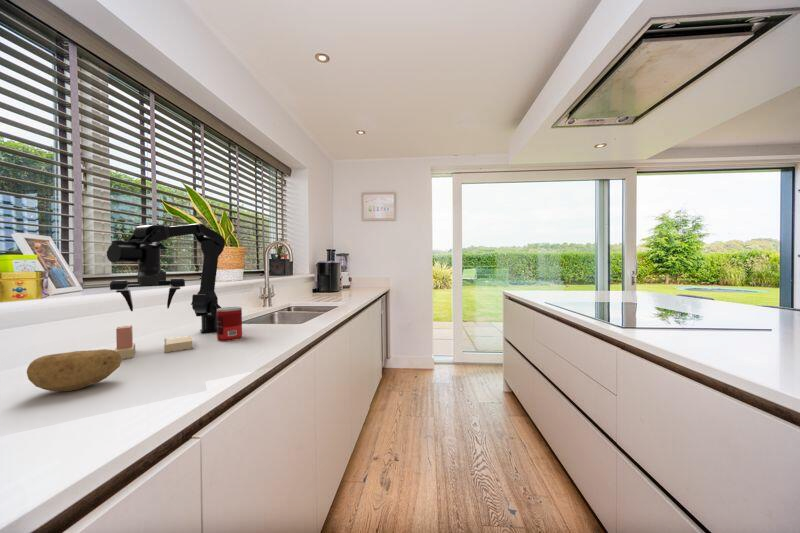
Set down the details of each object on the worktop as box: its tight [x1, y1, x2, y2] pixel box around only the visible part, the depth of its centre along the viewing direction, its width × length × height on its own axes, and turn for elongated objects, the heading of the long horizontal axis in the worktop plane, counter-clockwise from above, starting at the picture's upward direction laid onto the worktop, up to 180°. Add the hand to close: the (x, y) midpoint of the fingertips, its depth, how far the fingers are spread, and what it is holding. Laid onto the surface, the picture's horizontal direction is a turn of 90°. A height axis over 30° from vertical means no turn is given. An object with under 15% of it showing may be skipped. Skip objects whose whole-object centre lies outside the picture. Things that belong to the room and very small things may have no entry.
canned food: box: [216, 306, 243, 342], centre depth 107 cm, size 8×8×11 cm
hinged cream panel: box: [163, 335, 194, 353], centre depth 96 cm, size 10×7×3 cm
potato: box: [26, 348, 123, 392], centre depth 64 cm, size 10×14×8 cm
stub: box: [114, 325, 136, 360], centre depth 89 cm, size 10×4×8 cm, turn 38°
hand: (150, 309), depth 99 cm, fingers open, 9 cm apart
